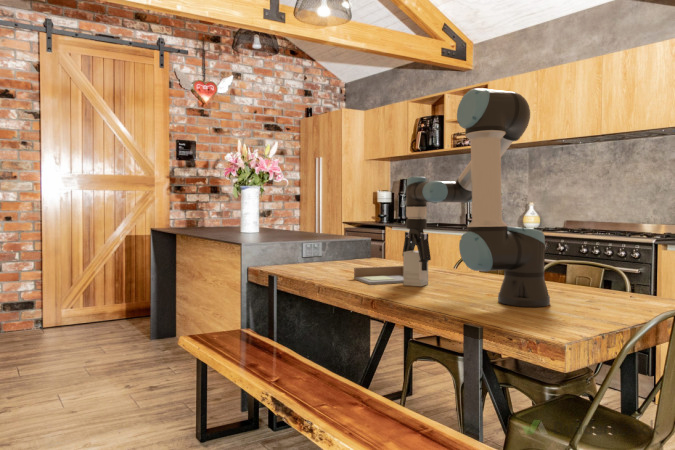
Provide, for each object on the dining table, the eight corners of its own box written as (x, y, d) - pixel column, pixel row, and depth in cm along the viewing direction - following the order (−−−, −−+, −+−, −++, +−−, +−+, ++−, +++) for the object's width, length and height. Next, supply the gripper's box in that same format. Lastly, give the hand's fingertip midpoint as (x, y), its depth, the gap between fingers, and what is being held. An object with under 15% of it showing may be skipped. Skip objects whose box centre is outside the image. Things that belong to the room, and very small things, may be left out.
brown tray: (421, 281, 208) (421, 270, 208) (370, 284, 200) (370, 272, 200) (402, 276, 223) (402, 265, 222) (354, 279, 215) (354, 267, 215)
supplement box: (428, 284, 201) (429, 251, 201) (420, 286, 195) (421, 252, 194) (410, 282, 205) (411, 250, 205) (402, 285, 199) (402, 251, 198)
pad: (395, 279, 207) (395, 279, 207) (371, 280, 203) (371, 280, 203) (384, 276, 216) (384, 275, 216) (361, 277, 213) (361, 276, 213)
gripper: (441, 218, 190) (440, 281, 191) (410, 217, 211) (410, 273, 212) (422, 219, 187) (422, 282, 188) (393, 217, 208) (393, 274, 209)
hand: (415, 277), depth 200 cm, fingers closed on supplement box, 10 cm apart
